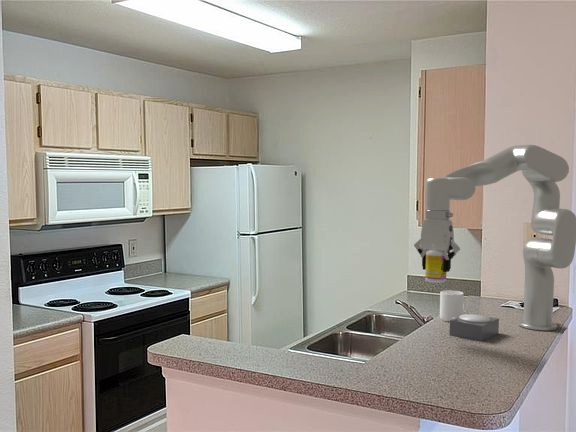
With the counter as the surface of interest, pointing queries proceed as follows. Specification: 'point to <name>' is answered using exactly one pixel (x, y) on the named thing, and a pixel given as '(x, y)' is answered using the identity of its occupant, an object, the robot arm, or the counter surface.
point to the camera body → (474, 327)
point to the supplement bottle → (434, 266)
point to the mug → (451, 304)
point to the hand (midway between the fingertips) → (436, 269)
